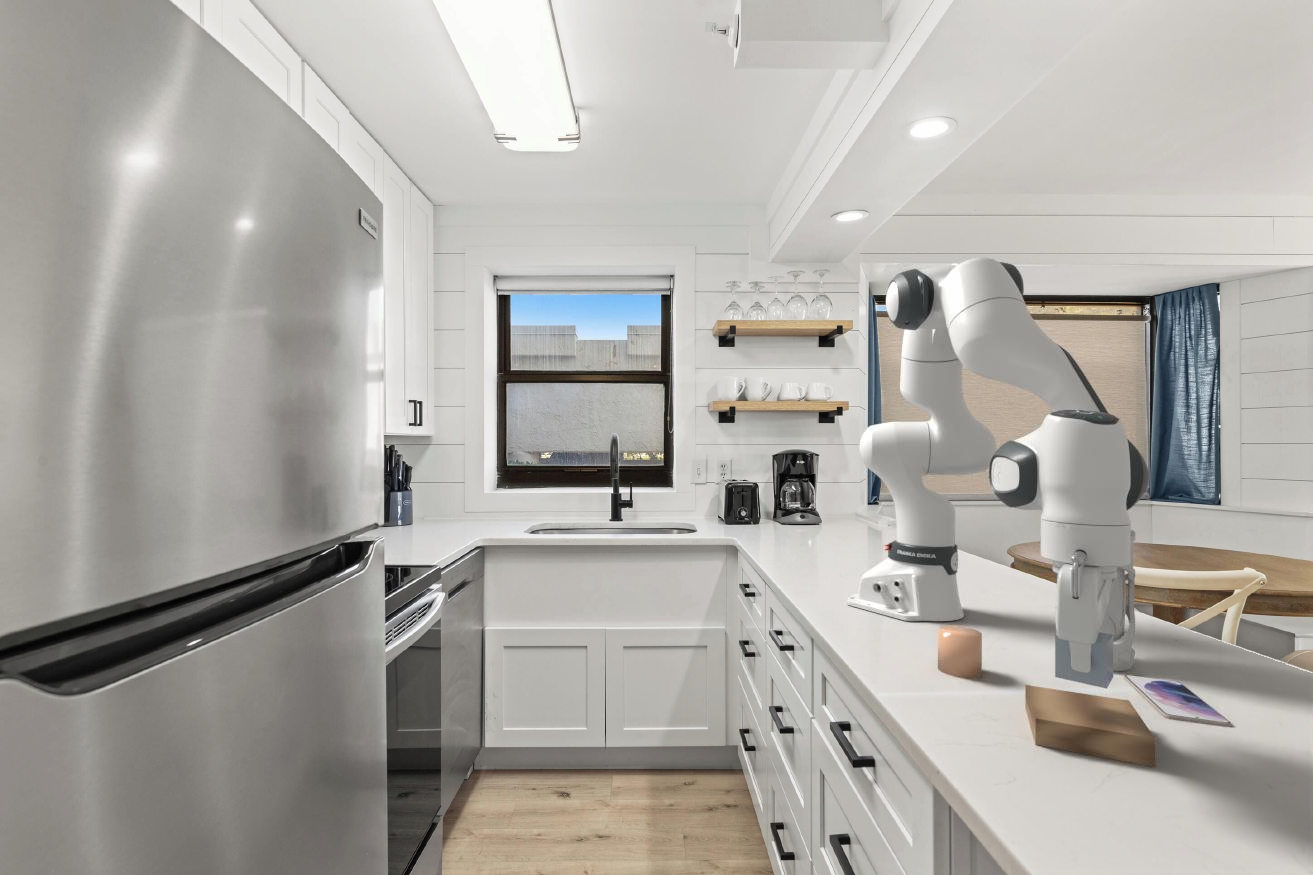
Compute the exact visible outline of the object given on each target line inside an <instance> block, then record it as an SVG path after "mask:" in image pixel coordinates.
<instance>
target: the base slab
mask: <svg viewBox="0 0 1313 875" xmlns="http://www.w3.org/2000/svg"><path fill="white" fill-rule="evenodd" d="M1024 689H1025V693H1024V694H1025V701H1024V702H1025V703H1024V704H1025V705H1024V706H1025V712H1026V714H1027V715H1026V716H1027V720H1028V722H1029V725H1030V729H1031V733H1032V738H1033V739H1034V744H1035V745H1036V746H1041V747H1047V748H1053V749H1057V748H1058V749H1057V750H1063V751H1066V752H1067V751H1068V752H1073V753H1079V754H1085V755H1090V756H1095V757H1100V758H1106V759H1112V760H1117V761H1122V762H1128V763H1131V764H1132V763H1133V764H1137V765H1143V766H1149V767H1153V768H1155V767H1156V737H1155V736H1154V734H1153V733H1152V732H1151V731H1150V729H1149V727H1148V726H1147V724H1146V723H1145V722H1144V720H1143V718H1142V717H1141V715H1140V714H1139V712H1138V711H1137V710H1136V709H1135V707H1134V705H1133V704H1132V702H1131V701H1130V700H1129V699H1121V698H1113V697H1109V696H1101V695H1096V694H1095V695H1094V694H1088V693H1082V692H1075V691H1068V690H1062V689H1055V688H1049V687H1041V686H1035V685H1031V684H1025V688H1024Z"/></svg>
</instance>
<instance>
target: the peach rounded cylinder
mask: <svg viewBox="0 0 1313 875" xmlns="http://www.w3.org/2000/svg"><path fill="white" fill-rule="evenodd" d="M982 647H983V634H982V632H981V631H979V630H977V629H974V628H971V627H968V626H967V627H966V626H961V625H940V626H939V627H938V628H937V669H938V671H940V672H941V673H943V674H945V675H948V676H951V677H956V678H961V679H962V678H963V679H977V678H980V677H982V674H983V671H982V669H983V661H982V660H983V648H982Z"/></svg>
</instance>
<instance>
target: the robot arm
mask: <svg viewBox="0 0 1313 875" xmlns="http://www.w3.org/2000/svg"><path fill="white" fill-rule="evenodd" d="M1024 288H1025V286H1024V280H1023V276H1022V274H1021V272H1020V271H1019V268H1017V266H1015V264H1011V263H1007V262H1003V261H1002V262H1001V261H998V260H996V259H994V258H989V257H974V258H969V259H967V260H963V261H962V262H957V263H956V262H955V263H951V264H945V265H939V266H932V267H926V268H922V269H917V268H913V269H908V270H905V271H904V270H903V271H902V272H900V273H897V274H896V275H895V276H894V277H893V278H892V280H890V282H889V285H888V288H887V293H886V296H885V309H886V311H887V316H888V319H889V321H890V323H892V324H893V326H895V328H897V329H899V330H904V331H903V337H902V343H901V344H902V346H901V355H900V356H901V357H900V379H899V381H900V382H899V391H900V393H901V395H902V397H903V398H904V400H906V402H908V403H910V404H912V405H913V406H914V407H917V408H919V409H922V410H925V411H926V412H928V413H929V414H930V416H931V417H930V420H926V421H890V422H884V423H883V422H882V423H877V424H872V425H869V426H868V427H867V428H866V430H865V431H864V432H863V433H862V436H861V438H860V441H859V446H858V447H859V450H858V451H859V456H860V458H861V461H862V463H863V464H864V465H865V467H866V468H867V469H868V470H870V471H871V472H872V473H874V474H875V475H876V476H877V477H878V478H879V479H880V480H881V481H882V482H883V484H885V486H886V487H887V490H888V491H889V492H890V495H891V497H892V498H891V499H892V501H893V506H894V512H895V523H896V524H895V526H896V527H895V529H896V539H895V540H894V541H891V542H889V543H888V544H885V545H884V547H885V548H884V551H887V553H888V554H887V557H886V558H884V559H883V560H882V561H880V562H879V563H877V564H876V565H874V566H872V567H871V568H870V569H869V570H867V571H865V572H864V573H863V574H862V575H861V578H860V582H859V584H858V589H857V591H858V592H856V593H853V594H852V595H849V596H848V598H847V599H846V603H847V606H851V607H855V608H858V609H861V610H865V611H869V612H873V613H876V614H880V615H883V616H887V617H891V618H895V619H898V620H901V621H905V622H906V621H907V622H919V621H920V622H921V621H926V622H930V621H931V622H948V621H949V622H950V621H958V620H961V619H962V618H964V617H965V614H964V611H963V608H962V603H961V599H960V594H959V587H958V580H957V573H958V568H959V553H958V552H959V551H958V545H957V544H956V509H955V507H954V505H953V503H952V502H951V500H948V499H947V498H946V497H945V496H942V495H941V494H939V493H937V492H935V491H933V490H931V489H928V488H927V487H925V485H924V482H923V477H924V476H957V477H958V476H966V475H973V474H978V473H984V472H986V471H987V470H989V471H988V476H989V477H988V478H989V485H990V488H991V491H992V492H993V494H995V496H996V497H997V499H998V500H1000V501H1001V502H1002V503H1003V504H1004V505H1005V506H1007V507H1009V508H1014V509H1018V510H1022V511H1041V514H1040V515H1041V516H1040V556H1041V557H1042V558H1044V559H1046V560H1047V561H1048V560H1049V561H1052V571H1053V572H1054V573H1055V574H1057V573H1058V580H1057V579H1056V599H1055V600H1056V604H1055V629H1056V632H1055V633H1057V636H1058V637H1059V638H1060V639H1063V640H1068V641H1069V646H1070V651H1071V667H1072V669H1074V670H1075V671H1080V672H1085V673H1088V672H1090V669H1091V647H1092V644H1094V643H1096V640H1097V637H1098V634H1099V631H1100V628H1101V625H1102V622H1103V618H1104V615H1105V612H1106V609H1107V606H1108V602H1109V597H1110V591H1111V583H1112V579H1114V578H1116V577H1117V567H1121V566H1127V565H1130V563H1131V530H1132V529H1131V528H1132V526H1131V518H1130V515H1129V513H1128V510H1130V509H1131V508H1132V507H1134V506H1135V505H1136V504H1137V503H1138V502H1139V501H1140V499H1142V497H1143V496H1144V494H1145V492H1146V490H1147V488H1148V485H1149V483H1150V481H1149V480H1150V472H1149V468H1148V465H1147V462H1146V460H1145V459H1144V457H1143V455H1142V453H1141V452H1140V451H1139V449H1138V448H1137V447H1136V446H1135V445H1134V444H1133V442H1131V441H1130V440H1129V439H1128V435H1127V432H1126V429H1125V425H1124V424H1123V421H1122V420H1121V419H1120V418H1119V417H1117V416H1115V415H1114V414H1111V413H1109V412H1108V410H1107V408H1106V407H1105V404H1103V403H1102V401H1101V399H1100V398H1099V396H1098V394H1097V393H1096V391H1095V389H1094V387H1093V386H1092V384H1091V383H1090V381H1089V379H1088V378H1087V376H1086V375H1085V373H1084V372H1083V370H1082V368H1081V367H1080V365H1079V364H1078V363H1077V361H1076V360H1075V358H1074V357H1073V356H1072V355H1071V354H1070V352H1068V351H1067V350H1066V349H1065V348H1063V347H1062V346H1061V345H1059V344H1058V343H1057V342H1055V341H1054V340H1053V339H1052V338H1050V337H1049V336H1048V335H1047V333H1045V332H1044V331H1043V329H1042V328H1041V327H1040V326H1039V325H1038V323H1036V321H1035V320H1034V318H1033V317H1032V315H1031V314H1030V312H1029V309H1028V307H1027V304H1026V302H1025V299H1024ZM963 367H964V368H965V369H967V370H968V371H970V372H971V373H974V374H975V375H977V376H980V377H982V378H983V379H984V378H985V379H988V380H992V381H996V382H1000V383H1005V384H1008V385H1011V386H1013V387H1016V388H1020V389H1023V390H1025V391H1027V392H1029V393H1032V394H1033V395H1035V396H1037V397H1038V398H1040V399H1041V400H1042V401H1043V402H1045V403H1046V404H1047V406H1048V407H1049V408H1050V410H1051V412H1050V413H1048V414H1047V415H1046V416H1045V417H1044V419H1043V421H1042V424H1041V425H1040V426H1039V427H1038V428H1036V429H1035V430H1033V431H1032V432H1030V433H1027V434H1026V435H1024V436H1022V437H1019V438H1017V439H1014V440H1006V441H1005V442H1004V443H1002V444H1001V446H1000V447H998V445H997V440H996V438H995V436H994V434H993V433H992V431H991V430H990V429H989V428H988V427H987V426H986V425H984V423H982V422H980V421H979V420H978V419H976V418H975V416H974V415H973V414H972V413H971V411H970V410H969V407H968V406H967V404H966V401H965V399H964V394H963ZM997 447H998V448H997Z"/></svg>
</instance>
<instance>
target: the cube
mask: <svg viewBox="0 0 1313 875" xmlns="http://www.w3.org/2000/svg"><path fill="white" fill-rule="evenodd" d="M1054 636H1055V637H1054V642H1055V645H1054V647H1055V648H1054V649H1055V650H1054V654H1055V655H1054V660H1055V661H1054V662H1055V663H1054V669H1055V671H1054V674H1055V675H1054V677H1055V678H1056V679H1057V678H1058V679H1062V680H1067V681H1070V682H1076V683H1080V684H1085V685H1090V686H1094V687H1098V688H1103V689H1108V688H1109V686H1110V684H1111V682H1112V680H1113V679H1114V671H1113V635H1112V634H1107V633H1101V632H1099V634H1098V637H1097V640H1096V643H1094V644H1092V647H1091V669H1090V672H1088V673H1085V672H1080V671H1075V670H1074V669H1072V667H1071V651H1070V646H1069V641H1068V640H1063V639H1060V638H1059V637H1058V636H1057V632H1055V635H1054Z"/></svg>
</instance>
